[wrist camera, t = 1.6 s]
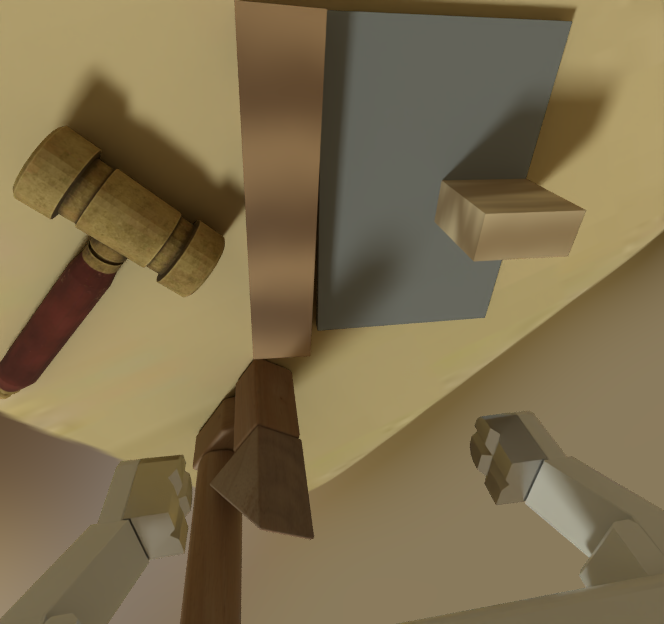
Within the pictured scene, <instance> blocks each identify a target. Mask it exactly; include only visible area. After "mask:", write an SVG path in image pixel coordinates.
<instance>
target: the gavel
mask: <svg viewBox="0 0 664 624" xmlns="http://www.w3.org/2000/svg"><path fill="white" fill-rule="evenodd" d="M100 154H101V150H100V149H99V148H98V147H96V146H95V145H93V144H92V143H90V142H89V141H88V140H86V139H85V138H83V137H82V136H81V135H79V134H78V133H76V132H75V131H74V130H72V129H71V128H69V127H68V126H64V127H60V128H57V129H55V130H54V131H53V132H51V133H50V134H49V135H48V136H47V137H46V138H45V139H44V140H43V141H42V142H41V143H40V145H39V146H38V147H37V148H36V149H35V151H34V152H33V153H32V154H31V156H30V157H29V159H28V160H27V161H26V163H25V164H24V166H23V168H22V169H21V171H20V173H19V174H18V176H17V178H16V181H15V183H14V186H13V194H14V198H16V199H17V200H19V201H21V202H22V203H24V204H26V205H27V206H29V207H31V208H33V209H34V210H36V211H38V212H39V213H41V214H43V215H44V216H46V217H48V218H50V219H53V218H54V217H56V216H57V215H58V214H60V215H62V216H64V217H65V218H67V219H69V220H70V221H72V222H74V223H75V224H76V225H75V227H76V228H78V229H80V230H81V231H83V232H85V233H86V234H88V235H90V236H91V237H92V238H91V239H90V242H89V243H88V244H87V246H86V247H85V248H84V250H83V251H82V252H81V253H80V254H79V255H77V256H76V257H75V258H74V259H73V260H72V261H71V262H70V263H69V264H68V266H67V267H66V269H65V270H64V272H63V273H62V274H61V276H60V277H59V279H58V280H57V282H56V283H55V284H54V286H53V287H52V289H51V290H50V292H49V293H48V294H47V296H46V297H45V299H44V300H43V302H42V303H41V305H40V306H39V307H38V309H37V310H36V312H35V313H34V315H33V316H32V317H31V319H30V320H29V322H28V323H27V325H26V326H25V328H24V329H23V330H22V332H21V333H20V335H19V336H18V338H17V339H16V340H15V342H14V343H13V345H12V346H11V348H10V349H9V351H8V352H7V353H6V355H5V356H4V358H3V359H2V361H1V362H0V399H6V398H8V397H10V396H11V394H15V393H17V392H19V391H20V390H21V389H23V388H25V387H27V386H29V385H31V384H33V383H34V382H36V381H37V379H38V378H39V377H40V376H41V374H42V373H43V372H44V370H45V369H46V368H47V367H48V365H49V364H50V363H51V361H52V360H53V359H54V357H55V356H56V355H57V354H58V352H59V351H60V350H61V348H62V347H63V346H64V345H65V343H66V342H67V341H68V339H69V338H70V337H71V336H72V334H73V333H74V332H75V330H76V329H77V328H78V327H79V325H80V324H81V323H82V321H83V320H84V319H85V318H86V316H87V315H88V314H89V312H90V311H91V310H92V308H93V307H94V306H95V305H96V303H97V302H98V301H99V299H100V298H101V297H102V296H103V294H104V293H105V292H106V290H107V289H108V288H109V287H110V285H111V283H112V281H113V279H114V277H115V275H116V272H117V270H118V269H119V268H120V266H121V265H122V264H123V262H124V261H126V259H127V258H128V259H130V260H132V261H133V262H135V263H137V264H138V265H140V266H142V267H145V266H147V267H148V268H150V269H152V270H153V271H155V272H157V273H158V276H157V282H158V283H160V284H162V285H163V286H165V287H167V288H168V289H170V290H172V291H174V292H175V293H177V294H179V295H180V296H182V297H186V296H189V295H191V294H193V293H194V292H195V291H196V290H197V289H198V288H199V287H200V286H201V285H202V284H203V283H204V282H205V281H206V279H207V278H208V277H209V275H210V274H211V272H212V271H213V269H214V268H215V266H216V265H217V263H218V261H219V259H220V257H221V255H222V253H223V250H224V247H225V239H224V237H223V236H221V235H220V234H219V233H217V232H216V231H214V230H213V229H212V228H210V227H209V226H207V225H206V224H204V223H203V222H202V221H200V220H198V221H196V222H195V223H194V224H191V223H190V222H188V221H187V220H185V219H184V218H183V217H181V213H180V212H179V211H177V210H176V209H174V208H173V207H171V206H170V205H169V204H167V203H166V202H164V201H163V200H161V199H160V198H159V197H157V196H156V195H154V194H153V193H152V192H150V191H149V190H147V189H146V188H144V187H143V186H142V185H140V184H139V183H137V182H136V181H134V180H133V179H132V178H130V177H129V176H127V175H126V174H124V173H123V172H122V171H120V170H119V169H116V170H114V169H112V168H111V167H109V166H108V165H107V164H105V163H104V162H102V161H101V160H99V157H100Z"/></svg>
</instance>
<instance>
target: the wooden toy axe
mask: <svg viewBox="0 0 664 624" xmlns="http://www.w3.org/2000/svg"><path fill="white" fill-rule="evenodd" d="M299 435H300V434H299V426H298V418H297V410H296V403H295V395H294V387H293V379H292V373H291V371H290V370H288V369H285V368H283V367H281V366H278V365H276V364H273V363H271V362H268V361H266V360H264V359H254V361H253V362H252V363H251V364H250V366H249V367H248V368H247V370H246V371H245V372H244V374H243V375H242V376H241V378H240V379H239V380H238V382H237V383H236V396H235V397H232V398H227V399H225V400H224V401H223V402H222V403H221V405H220V406H219V407H218V409H217V410H216V411H215V413H214V414H213V415H212V417H211V418H210V419H209V420H208V422H207V423H206V424H205V426H204V427H203V428H202V430H201V431H200V432H199V434H198V435H197V437H196V445H195V453H194V460H193V469H195V470H198V472H197V481H196V489H195V498H194V507H193V516H192V524H191V533H190V542H189V550H188V560H187V568H186V576H185V586H184V594H183V603H182V611H181V620H180V624H241V568H242V566H241V564H242V514H243V515H244V516H246V517H247V518H248V519H249V520H250V521H251V522H253V523H254V524H255V525H256V526H257V527H258V528H259V529H260V530H264V531H269V532H274V533H279V534H284V535H290V536H295V537H300V538H305V539H310V540H311V539H313V538H314V533H313V526H312V519H311V510H310V503H309V495H308V487H307V480H306V472H305V464H304V457H303V449H302V441H301V440H300V439H298V438H299Z"/></svg>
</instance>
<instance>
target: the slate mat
mask: <svg viewBox="0 0 664 624" xmlns="http://www.w3.org/2000/svg"><path fill="white" fill-rule="evenodd" d="M571 24H572V21H552V20H530V19H508V18H486V17H464V16H442V15H421V14H399V13H377V12H355V11H333V10H327V20H326V40H325V61H324V82H323V102H322V123H321V144H320V165H319V185H318V212H317V314H316V325H317V329H318V331H319V330H332V329H345V328H358V327H371V326H384V325H396V324H409V323H422V322H435V321H448V320H461V319H473V318H485V316H486V312H487V309H488V305H489V302H490V299H491V295H492V292H493V288H494V285H495V282H496V278H497V275H498V271H499V268H500V265H501V261H502V260H490V261H473V260H472V259H471V258H470V257H469V256H468V255H467V254H466V253H465V252H464V251H463V250H462V249H461V248H460V247H459V246H458V245H457V244H456V243H455V242H454V241H453V240H452V239H451V238H450V237H449V236H448V235H447V234H446V233H445V232H444V231H443V230H442V229H441V228H440V227H439V226H438V225H437V224H436V223H435V222H434V220H435V215H436V209H437V203H438V198H439V192H440V187H441V181H442V180H490V179H526V177H527V173H528V170H529V166H530V163H531V160H532V156H533V153H534V149H535V146H536V143H537V139H538V136H539V132H540V129H541V126H542V122H543V119H544V116H545V112H546V109H547V105H548V102H549V99H550V95H551V92H552V88H553V85H554V82H555V78H556V75H557V71H558V68H559V65H560V61H561V58H562V54H563V51H564V48H565V44H566V41H567V38H568V34H569V31H570V27H571Z"/></svg>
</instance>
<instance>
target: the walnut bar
mask: <svg viewBox="0 0 664 624" xmlns="http://www.w3.org/2000/svg"><path fill="white" fill-rule="evenodd" d="M234 2H235V21H236V40H237V59H238V78H239V96H240V115H241V134H242V153H243V172H244V190H245V209H246V228H247V247H248V266H249V284H250V303H251V322H252V341H253V359H267V358H284V357H301V356H310V351H311V330H312V309H313V289H314V268H315V247H316V227H317V206H318V185H319V165H320V144H321V123H322V102H323V82H324V61H325V40H326V20H327V9H323V8H312V7H301V6H291V5H280V4H270V3H259V2H248V1H238V0H234Z"/></svg>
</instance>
